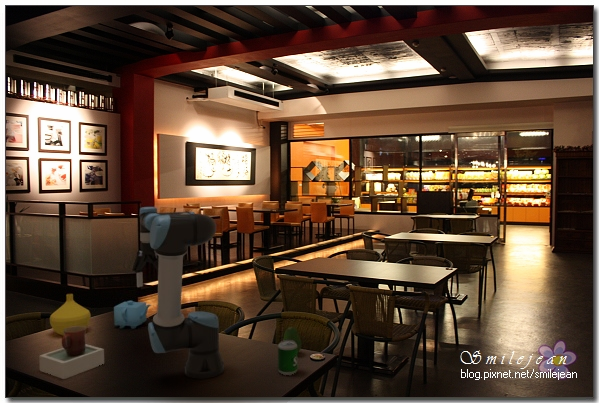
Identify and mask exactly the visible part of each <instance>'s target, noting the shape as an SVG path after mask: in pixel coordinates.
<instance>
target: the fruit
mask: <svg viewBox="0 0 599 403" xmlns="http://www.w3.org/2000/svg"><path fill="white" fill-rule="evenodd" d="M284 340H292V341H294V342H295V343H296V344H297V354H299V352H300V351H301V349H302V341H301V337H300V335H299V332H298V330H297V328H295V327H294V326H289V327H287V329H285V331H284V334H283V340H282V341H284Z"/></svg>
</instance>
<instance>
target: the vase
mask: <svg viewBox="0 0 599 403" xmlns="http://www.w3.org/2000/svg"><path fill="white" fill-rule="evenodd" d="M91 318H92V317H91V312H90V310H89V309H87V308H86V307H84V306H82V305H80V304H78V303H77V302H76V301H75V300H74V294H73V293H67V294H66V301H65V302H64V303H63V304H62V305H61V306H60V307H59V308H57V309H56V310H55V311H54V312H53V313H52V314H51V315H50V317H49V324H50V326H51V328H52V330H53V331H54V332H55V333H56V334H58V335H59V336H61V337H63V336H64V332H63V330H64V329H66V328H68V327H73V326H85V327H88V326H89V323H90V321H91Z"/></svg>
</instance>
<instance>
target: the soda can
mask: <svg viewBox="0 0 599 403" xmlns="http://www.w3.org/2000/svg"><path fill="white" fill-rule="evenodd" d="M277 353H278V354H277V359H278V360H277V361H278V362H277V366H278V368H277V369H278V372H279V373H280V374H281V375H282V374H283V376H286V375H289V376H293V375H295V374H296V373H297V372H298V353H297V344H296V343H295V342H294V341H292V340H284V341H283V340H281V341H280V342H279V343H278V345H277ZM294 373H295V374H294ZM292 374H293V375H292Z"/></svg>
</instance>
